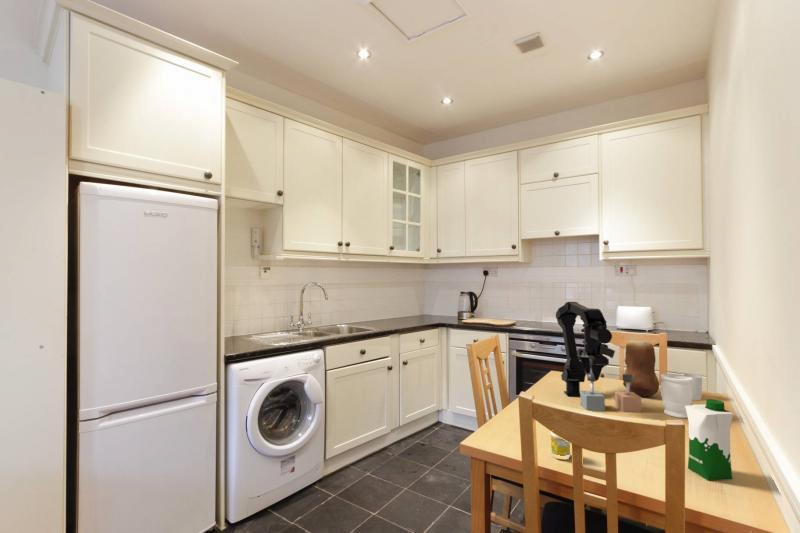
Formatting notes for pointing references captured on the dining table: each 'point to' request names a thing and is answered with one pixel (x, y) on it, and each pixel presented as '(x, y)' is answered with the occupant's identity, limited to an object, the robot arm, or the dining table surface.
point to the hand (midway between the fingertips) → (592, 376)
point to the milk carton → (710, 440)
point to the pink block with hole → (628, 402)
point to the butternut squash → (641, 368)
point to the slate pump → (591, 378)
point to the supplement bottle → (559, 446)
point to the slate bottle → (592, 401)
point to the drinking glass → (696, 386)
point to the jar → (676, 394)
